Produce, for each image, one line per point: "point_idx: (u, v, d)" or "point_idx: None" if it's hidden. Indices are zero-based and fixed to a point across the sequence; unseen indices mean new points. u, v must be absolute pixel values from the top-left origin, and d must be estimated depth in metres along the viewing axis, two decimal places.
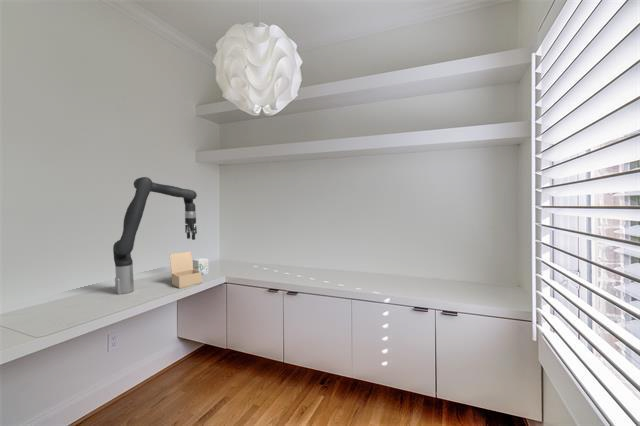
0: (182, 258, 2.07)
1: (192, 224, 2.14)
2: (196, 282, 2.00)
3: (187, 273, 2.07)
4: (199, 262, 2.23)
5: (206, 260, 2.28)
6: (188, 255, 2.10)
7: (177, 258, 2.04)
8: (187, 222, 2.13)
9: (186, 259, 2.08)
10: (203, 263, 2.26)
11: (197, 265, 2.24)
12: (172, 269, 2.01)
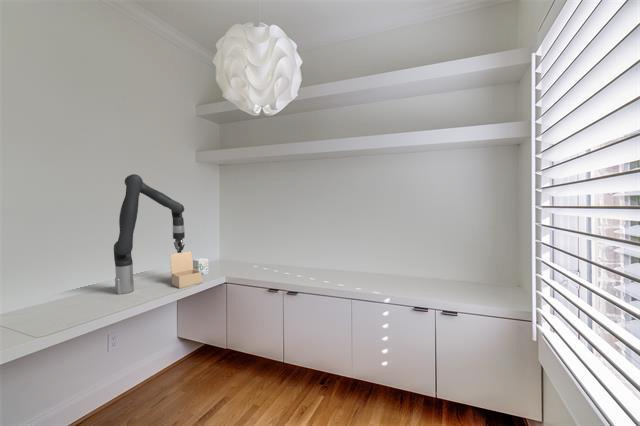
0: (182, 258, 2.06)
1: (180, 239, 2.05)
2: (196, 282, 2.00)
3: (187, 273, 2.07)
4: (199, 262, 2.23)
5: (206, 260, 2.28)
6: (188, 255, 2.09)
7: (177, 258, 2.04)
8: (175, 237, 2.03)
9: (186, 259, 2.08)
10: (203, 263, 2.26)
11: (197, 265, 2.24)
12: (172, 269, 2.01)
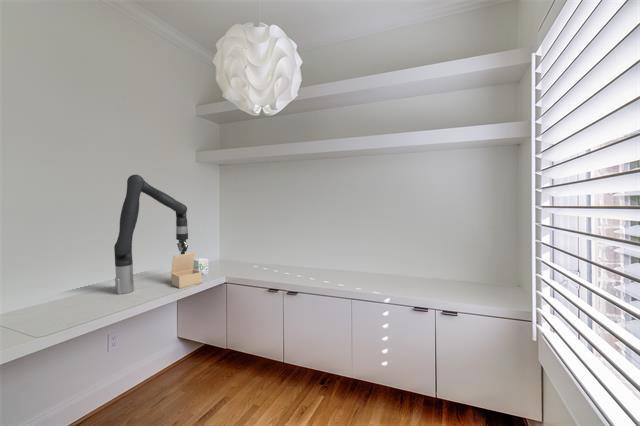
0: (185, 259, 2.04)
1: (184, 240, 2.01)
2: (196, 282, 2.00)
3: (187, 273, 2.07)
4: (199, 262, 2.23)
5: (206, 260, 2.28)
6: (191, 257, 2.06)
7: (180, 259, 2.01)
8: (178, 238, 2.00)
9: (188, 260, 2.06)
10: (203, 263, 2.26)
11: (197, 265, 2.24)
12: (173, 269, 2.00)
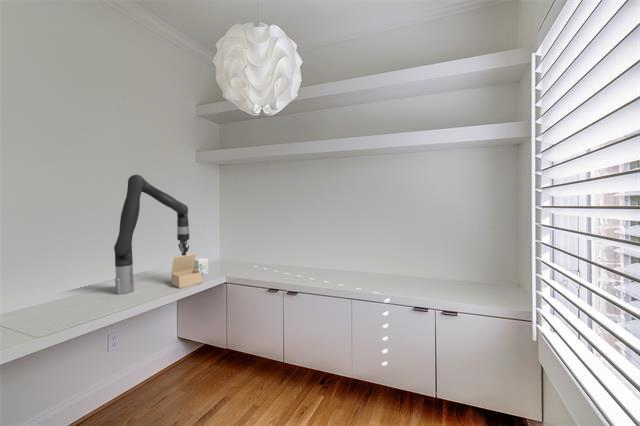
0: (185, 260, 2.03)
1: (185, 240, 1.99)
2: (196, 282, 2.00)
3: (187, 273, 2.07)
4: (199, 262, 2.23)
5: (206, 260, 2.28)
6: (191, 258, 2.05)
7: (180, 260, 2.00)
8: (179, 238, 1.98)
9: (189, 261, 2.05)
10: (203, 263, 2.26)
11: (197, 265, 2.24)
12: (173, 270, 2.00)
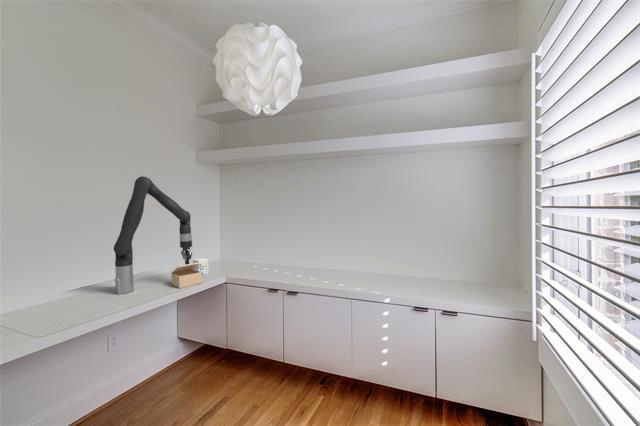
0: (188, 266, 2.01)
1: (188, 248, 1.97)
2: (196, 282, 2.00)
3: (187, 273, 2.07)
4: None
5: (206, 260, 2.28)
6: (194, 265, 2.03)
7: (183, 267, 1.98)
8: (182, 246, 1.96)
9: (191, 266, 2.03)
10: (203, 263, 2.26)
11: (197, 265, 2.24)
12: (174, 271, 1.99)
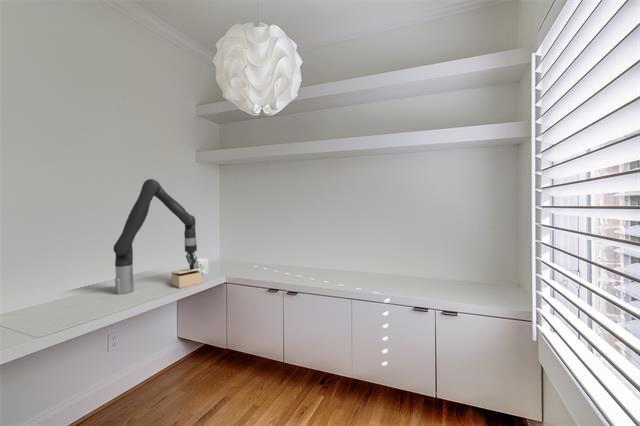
0: None
1: (192, 252, 1.97)
2: (196, 282, 2.00)
3: (187, 273, 2.07)
4: (199, 262, 2.23)
5: (206, 260, 2.28)
6: (195, 270, 2.02)
7: (184, 272, 1.97)
8: (187, 250, 1.96)
9: (192, 270, 2.03)
10: (203, 263, 2.26)
11: (197, 265, 2.24)
12: None
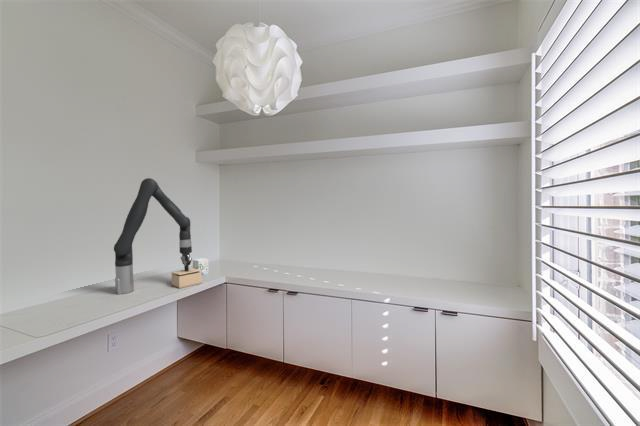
0: None
1: (187, 254, 1.98)
2: (196, 282, 2.00)
3: (187, 273, 2.07)
4: (199, 262, 2.23)
5: (206, 260, 2.28)
6: None
7: None
8: (182, 252, 1.97)
9: (192, 271, 2.03)
10: (203, 263, 2.26)
11: (197, 265, 2.24)
12: None
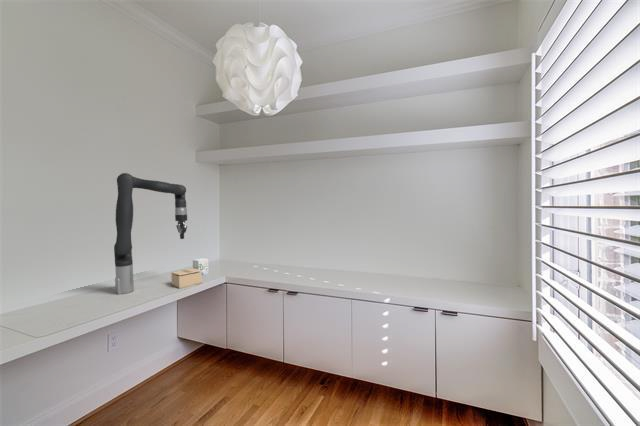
0: (189, 272, 2.00)
1: (183, 221, 2.00)
2: (196, 282, 2.00)
3: None
4: (199, 262, 2.23)
5: (206, 260, 2.28)
6: None
7: None
8: (177, 219, 1.99)
9: None
10: (203, 263, 2.26)
11: (197, 265, 2.24)
12: None
